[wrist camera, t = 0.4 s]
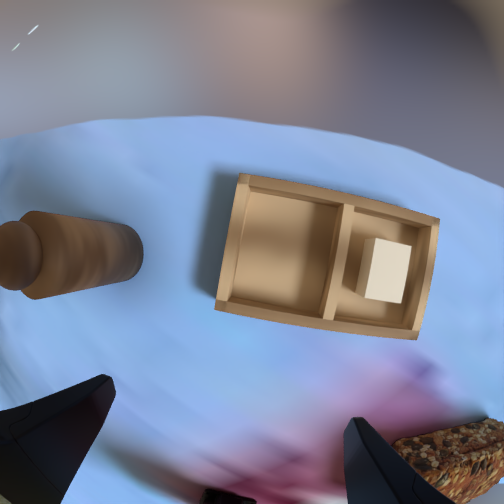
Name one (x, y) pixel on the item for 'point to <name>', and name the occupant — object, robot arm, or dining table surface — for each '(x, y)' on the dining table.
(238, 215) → the caddy
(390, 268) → the block
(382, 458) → the robot arm
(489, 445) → the bread
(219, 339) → the dining table surface
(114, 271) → the pepper mill
